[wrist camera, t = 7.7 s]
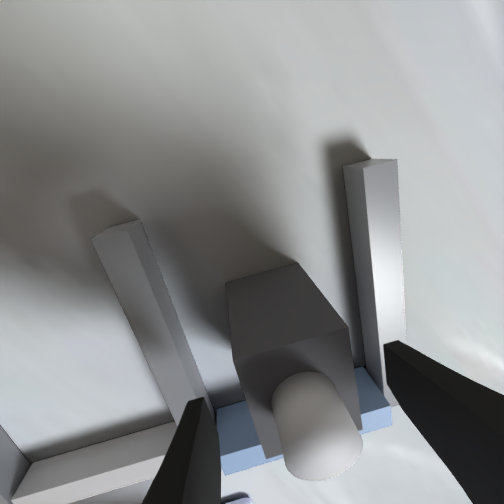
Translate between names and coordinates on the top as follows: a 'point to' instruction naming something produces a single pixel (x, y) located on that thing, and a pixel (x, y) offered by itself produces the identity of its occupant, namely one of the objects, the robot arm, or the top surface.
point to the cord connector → (296, 371)
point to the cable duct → (185, 369)
